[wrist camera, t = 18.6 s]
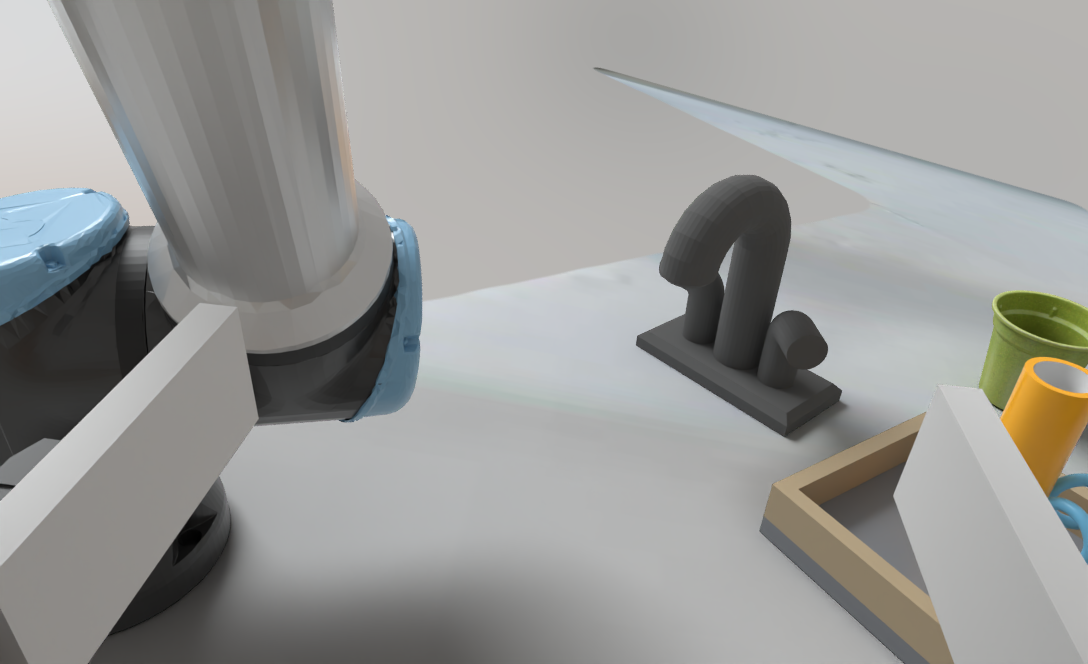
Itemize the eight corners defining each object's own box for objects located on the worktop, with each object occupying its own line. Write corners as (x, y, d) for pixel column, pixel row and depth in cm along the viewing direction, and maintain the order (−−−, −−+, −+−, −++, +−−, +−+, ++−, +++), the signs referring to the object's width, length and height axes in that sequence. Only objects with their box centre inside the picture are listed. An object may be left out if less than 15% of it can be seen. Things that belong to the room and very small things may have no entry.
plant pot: (1079, 394, 72) (1121, 314, 67) (1067, 446, 65) (1112, 361, 60) (971, 357, 76) (1003, 279, 71) (949, 402, 69) (983, 320, 65)
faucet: (575, 368, 71) (592, 159, 61) (687, 317, 80) (720, 126, 69) (731, 477, 60) (787, 242, 49) (843, 402, 69) (910, 190, 58)
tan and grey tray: (759, 531, 55) (772, 484, 53) (928, 445, 64) (945, 402, 62) (1021, 769, 41) (1055, 721, 39) (1188, 618, 50) (1224, 571, 48)
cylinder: (1052, 525, 55) (1151, 349, 47) (1099, 648, 46) (1229, 458, 38) (871, 486, 57) (936, 312, 49) (884, 596, 49) (964, 407, 41)
